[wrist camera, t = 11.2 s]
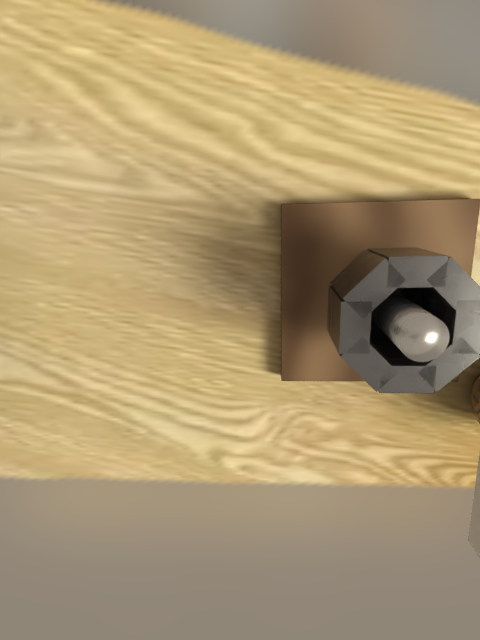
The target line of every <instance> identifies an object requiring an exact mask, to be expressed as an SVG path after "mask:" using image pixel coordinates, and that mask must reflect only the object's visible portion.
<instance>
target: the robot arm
mask: <svg viewBox="0 0 480 640" xmlns="http://www.w3.org/2000/svg"><path fill="white" fill-rule="evenodd" d="M468 541H469V542H470V544H471V545H472V547H473V548H474V550H475V551H476V553H477V554H478V556H479V557H480V454H479V462H478V469H477V476H476V484H475V491H474V499H473V506H472V513H471V521H470V528H469V536H468Z"/></svg>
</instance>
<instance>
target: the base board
mask: <svg viewBox="0 0 480 640" xmlns="http://www.w3.org/2000/svg"><path fill="white" fill-rule="evenodd" d="M479 207H480V199H453V200H418V201H382V202H347V203H311V204H281V379H282V381H365V380H364V379H363V378H362V377H361V376H360V375H359V374H358V373H356V372H355V371H354V370H353V369H352V368H351V367H350V366H349V365H348V364H347V363H346V362H345V361H344V360H343V359H342V358H341V357H340V355H339V353H338V351H337V349H336V347H335V345H334V343H333V341H332V339H331V337H330V335H329V333H328V330H327V317H328V285H331V284H330V282H331V281H332V280H333V279H334V278H335V277H336V276H337V275H338V274H339V273H340V272H341V271H342V270H343V269H345V268H346V267H347V266H348V265H349V264H350V263H351V262H352V261H353V260H354V259H355V258H356V257H357V256H358V255H359V254H360V253H361V252H362V251H363V250H367V248H405V247H417V248H420V249H424V250H428V251H432V252H436V253H440V254H444V255H447V256H450V257H452V258H453V259H454V260H455V261H456V262H457V263H458V264H459V265H460V266H461V267H462V268H463V269H464V271H465V272H466V273H467V274H468V275H469V276H470V277H471V272H472V264H473V256H474V248H475V240H476V232H477V224H478V215H479ZM458 376H459V375H457V376H456V377H455V378H454V379H452V380H451V381H450V382H458Z"/></svg>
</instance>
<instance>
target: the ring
mask: <svg viewBox="0 0 480 640" xmlns="http://www.w3.org/2000/svg"><path fill="white" fill-rule="evenodd" d="M330 284H331V285H328V317H327V330H328V333H329V335H330V337H331V339H332V341H333V343H334V345H335V347H336V349H337V351H338V353H339V355H340V357H341V358H342V359H343V360H344V361H345V362H346V363H347V364H348V365H349V366H350V367H351V368H352V369H353V370H354V371H355V372H356V373H358V374H359V375H360V376H361V377H362V378H363V379H364V380H365V381H366V382H367V383H368V384H369V385H370V386H371V387H372V388H373V389H374V390H375V391H376V392H377V391H379V393H434V389H435V390H436V391H437V392H438V391H439V390H440V389H441V388H443V387H444V386H445V385H446V384H448V383H449V382H450V381H451V380H452V379H454V378H455V377H456V376H457V375H459V374H460V373H461V372H462V371H464V370H465V369H466V368H467V367H469V366H470V365H471V364H472V363H474V362H475V361H476V360H477V359H479V358H480V355H479V354H480V287H479V285H478V284H477V283H476V282H475V281H474V280H473V279H472V278H471V277H470V276H469V275H468V274H467V273H466V272H465V271H464V269H463V268H462V267H461V266H460V265H459V264H458V263H457V262H456V261H455V260H454V259H453V258H452V257H450V256H447V255H444V254H440V253H436V252H432V251H428V250H424V249H420V248H417V247H405V248H367V250H363V251H362V252H361V253H360V254H359V255H358V256H357V257H356V258H355V259H354V260H353V261H352V262H351V263H350V264H349V265H348V266H347V267H346V268H345V269H343V270H342V271H341V272H340V273H339V274H338V275H337V276H336V277H335V278H334V279H333V280H332V281H331V282H330ZM397 288H419V289H420V290H421V291H422V292H423V301H422V308H423V309H424V310H426V311H427V312H429V313H431V314H432V315H434V316H435V317H437V318H438V319H440V320H441V321H442V322H444V324H445V325H446V326H447V328H448V331H449V343H448V346H447V348H446V349H445V351H444V352H443V353H442V354H441V355H440V356H439V357H437V358H435V359H433V360H431V361H427V362H417V361H413V360H411V359H409V358H408V357H406V356H405V355H404V354H403V353H402V351H401V350H400V349H399V348H398V347H397V346H396V345H395V344H394V343H393V342H392V341H391V340H390V339H370V328H371V312H372V311H373V310H374V309H375V308H376V307H377V306H378V305H379V304H380V303H382V302H383V301H384V300H385V299H386V298H387V297H388V296H389V295H390V294H392V293H393V292H394V291H395V290H396V289H397Z"/></svg>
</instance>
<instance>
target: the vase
mask: <svg viewBox="0 0 480 640" xmlns="http://www.w3.org/2000/svg"><path fill="white" fill-rule="evenodd" d="M471 399H472V407H473V410H474V414H475V416H476V418H477V420H478V422H479V424H480V375H479V377H478V378H477V380H476V381H475V383H474V386H473V389H472V395H471Z"/></svg>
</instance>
